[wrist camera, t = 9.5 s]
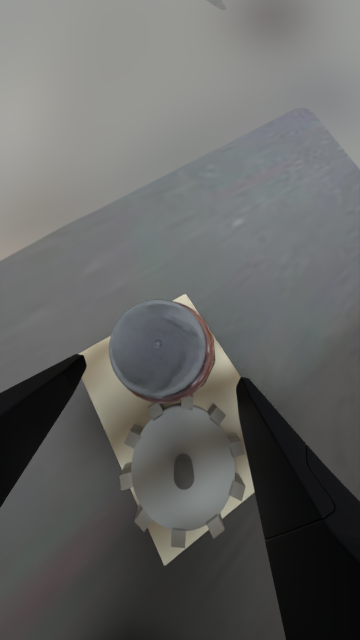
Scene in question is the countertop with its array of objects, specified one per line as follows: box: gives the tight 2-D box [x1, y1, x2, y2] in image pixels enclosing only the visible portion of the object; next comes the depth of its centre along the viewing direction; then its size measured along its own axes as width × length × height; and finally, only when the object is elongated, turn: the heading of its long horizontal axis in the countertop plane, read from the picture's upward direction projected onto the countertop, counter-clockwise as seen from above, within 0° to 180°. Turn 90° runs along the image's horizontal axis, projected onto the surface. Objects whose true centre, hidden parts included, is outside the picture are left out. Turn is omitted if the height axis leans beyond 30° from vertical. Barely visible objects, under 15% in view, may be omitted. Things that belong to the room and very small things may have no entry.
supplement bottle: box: [109, 299, 214, 404], centre depth 12 cm, size 6×6×11 cm
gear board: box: [80, 294, 255, 566], centre depth 15 cm, size 20×14×4 cm
